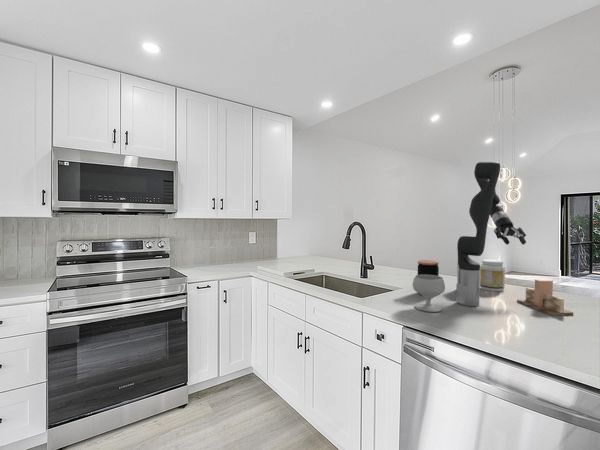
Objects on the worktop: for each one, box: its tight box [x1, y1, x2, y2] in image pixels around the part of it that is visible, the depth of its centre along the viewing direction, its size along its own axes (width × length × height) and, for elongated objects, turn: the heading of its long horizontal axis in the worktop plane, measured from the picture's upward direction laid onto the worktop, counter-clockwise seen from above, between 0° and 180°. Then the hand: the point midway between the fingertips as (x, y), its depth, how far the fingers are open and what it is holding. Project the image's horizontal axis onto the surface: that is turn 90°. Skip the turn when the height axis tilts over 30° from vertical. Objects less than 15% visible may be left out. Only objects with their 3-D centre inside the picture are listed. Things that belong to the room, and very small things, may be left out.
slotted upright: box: [534, 279, 554, 307], centre depth 141 cm, size 3×6×12 cm, turn 90°
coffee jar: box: [417, 259, 440, 296], centre depth 166 cm, size 11×11×18 cm
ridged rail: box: [516, 287, 574, 316], centre depth 141 cm, size 20×10×7 cm, turn 1°
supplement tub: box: [480, 258, 506, 293], centre depth 176 cm, size 12×12×17 cm
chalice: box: [412, 274, 446, 313], centre depth 141 cm, size 14×14×15 cm
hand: (516, 243), depth 158 cm, fingers open, 8 cm apart
